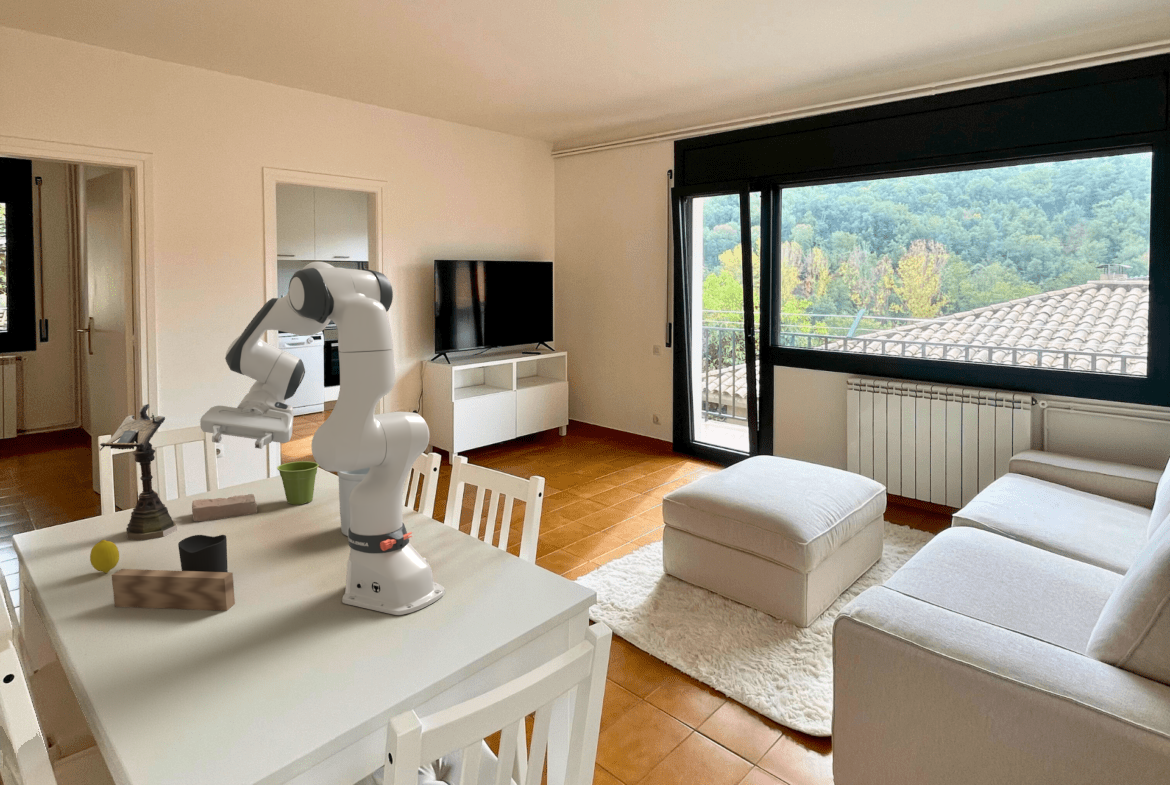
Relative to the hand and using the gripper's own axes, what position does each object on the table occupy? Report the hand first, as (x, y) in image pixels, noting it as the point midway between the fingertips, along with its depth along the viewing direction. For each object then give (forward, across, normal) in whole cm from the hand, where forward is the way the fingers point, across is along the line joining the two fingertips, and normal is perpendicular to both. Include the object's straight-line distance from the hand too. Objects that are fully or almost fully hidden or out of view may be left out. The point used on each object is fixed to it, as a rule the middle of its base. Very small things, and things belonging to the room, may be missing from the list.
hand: (236, 443), depth 162 cm
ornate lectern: (-8, -26, +41) cm, 49 cm away
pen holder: (+20, 0, +25) cm, 32 cm away
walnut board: (+30, -2, +21) cm, 37 cm away
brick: (-24, -12, +44) cm, 52 cm away
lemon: (+14, -24, +32) cm, 42 cm away
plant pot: (-34, +6, +44) cm, 56 cm away
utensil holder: (-10, +30, +31) cm, 44 cm away
